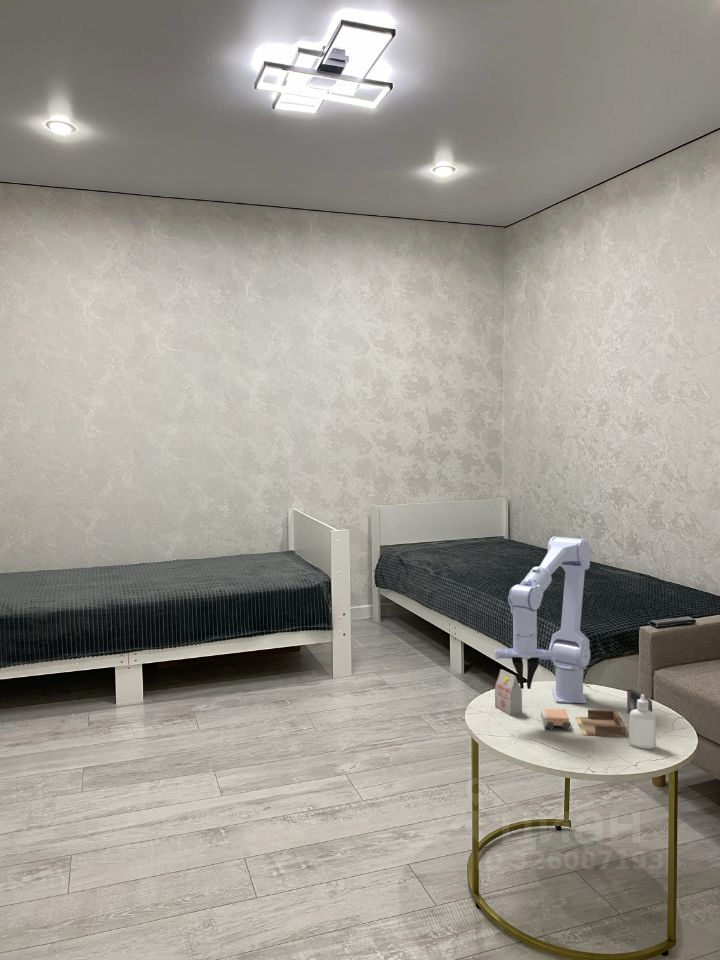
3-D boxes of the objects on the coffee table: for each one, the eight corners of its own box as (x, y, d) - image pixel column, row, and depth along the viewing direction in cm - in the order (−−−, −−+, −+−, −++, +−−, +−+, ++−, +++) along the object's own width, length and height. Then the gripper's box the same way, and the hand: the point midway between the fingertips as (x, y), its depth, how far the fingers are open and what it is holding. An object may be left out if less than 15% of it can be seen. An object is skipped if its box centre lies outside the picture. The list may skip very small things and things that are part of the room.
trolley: (540, 719, 188) (540, 708, 188) (567, 720, 187) (567, 708, 187) (543, 730, 181) (543, 718, 181) (571, 731, 180) (571, 719, 180)
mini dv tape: (652, 723, 185) (652, 699, 184) (646, 724, 184) (646, 700, 184) (632, 711, 192) (632, 689, 192) (627, 712, 192) (627, 689, 192)
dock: (575, 717, 189) (575, 709, 189) (616, 718, 188) (616, 710, 188) (582, 735, 178) (582, 726, 178) (626, 736, 177) (626, 727, 177)
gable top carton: (506, 704, 199) (506, 668, 198) (522, 713, 193) (521, 675, 192) (495, 707, 197) (494, 670, 197) (510, 715, 191) (510, 677, 191)
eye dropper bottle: (646, 752, 168) (647, 700, 167) (626, 744, 173) (626, 693, 172) (659, 747, 170) (659, 696, 170) (638, 739, 175) (638, 689, 174)
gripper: (496, 637, 181) (496, 692, 182) (557, 638, 179) (557, 693, 180) (494, 629, 188) (494, 682, 189) (553, 630, 186) (553, 684, 187)
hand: (525, 687), depth 185 cm, fingers closed
